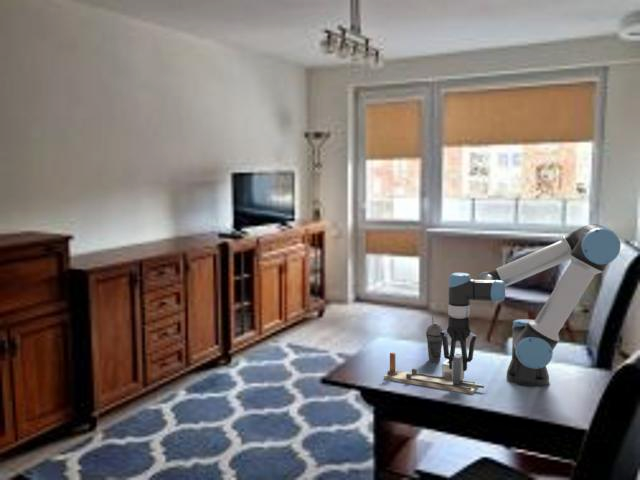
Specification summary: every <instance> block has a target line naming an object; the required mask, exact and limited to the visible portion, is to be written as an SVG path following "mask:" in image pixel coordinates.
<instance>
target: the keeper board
mask: <svg viewBox="0 0 640 480" xmlns="http://www.w3.org/2000/svg"><path fill="white" fill-rule="evenodd" d="M396 356H397V355H396V353H395V352H390V353H389V370H388V371H387V372H386V374H385V375H384V376H383V379H384V380H388V381H393V382H394V381H395V382H399V383H404V384H411V385H416V386H421V387H422V386H423V387H430V388H434V389H435V388H436V389H441V390H446V391H447V390H448V391H451V392H452V391H453V392H457V393H464V394H469V395H470V394H471V395H474V393H475V392H476V391H477V389H478V388H479V387H473V386H467V385H460V386H458V385H453V379H452V378H446V377H442V376H440V375H439V376H438V375H433V374H427V373H420V372H417V371H418V370H417V368H413V367H412V369H411V372H409V371H403V370H397V369H396ZM463 382H468V383H474V384H479V382H478V383H477V382H475V381H469V380H465V379H463Z"/></svg>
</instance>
